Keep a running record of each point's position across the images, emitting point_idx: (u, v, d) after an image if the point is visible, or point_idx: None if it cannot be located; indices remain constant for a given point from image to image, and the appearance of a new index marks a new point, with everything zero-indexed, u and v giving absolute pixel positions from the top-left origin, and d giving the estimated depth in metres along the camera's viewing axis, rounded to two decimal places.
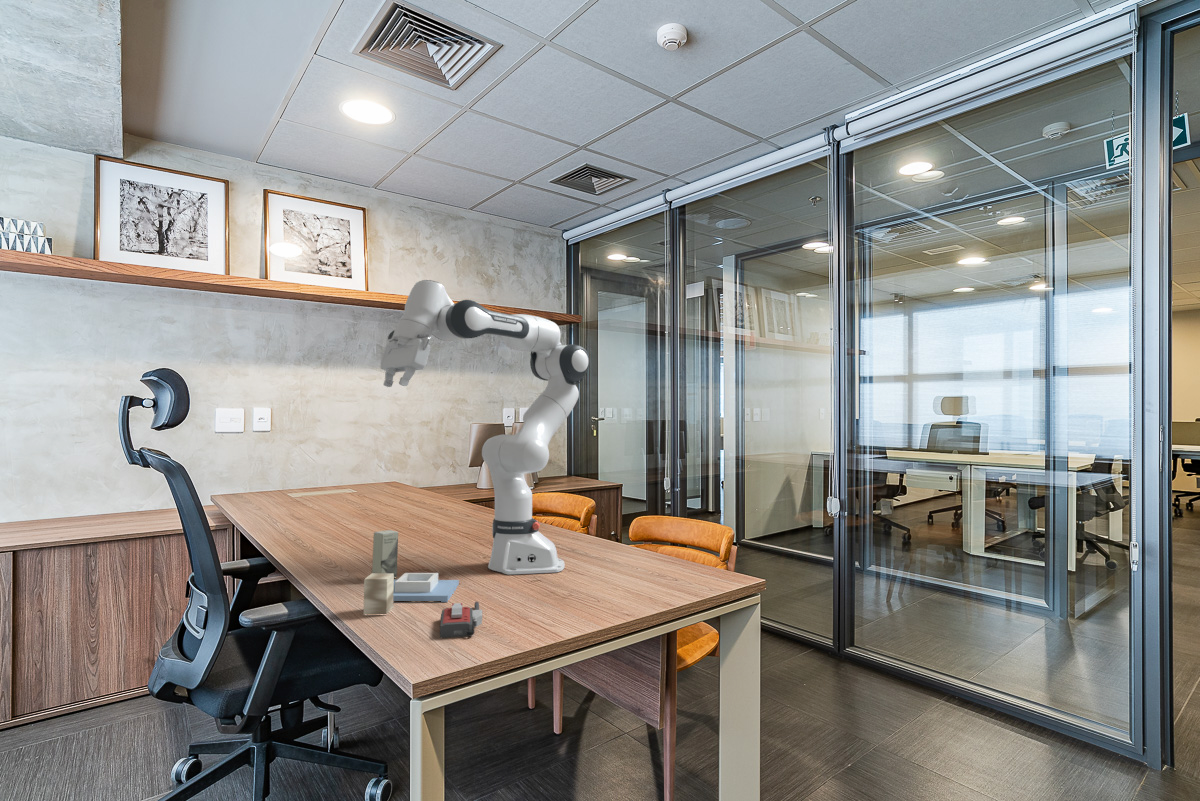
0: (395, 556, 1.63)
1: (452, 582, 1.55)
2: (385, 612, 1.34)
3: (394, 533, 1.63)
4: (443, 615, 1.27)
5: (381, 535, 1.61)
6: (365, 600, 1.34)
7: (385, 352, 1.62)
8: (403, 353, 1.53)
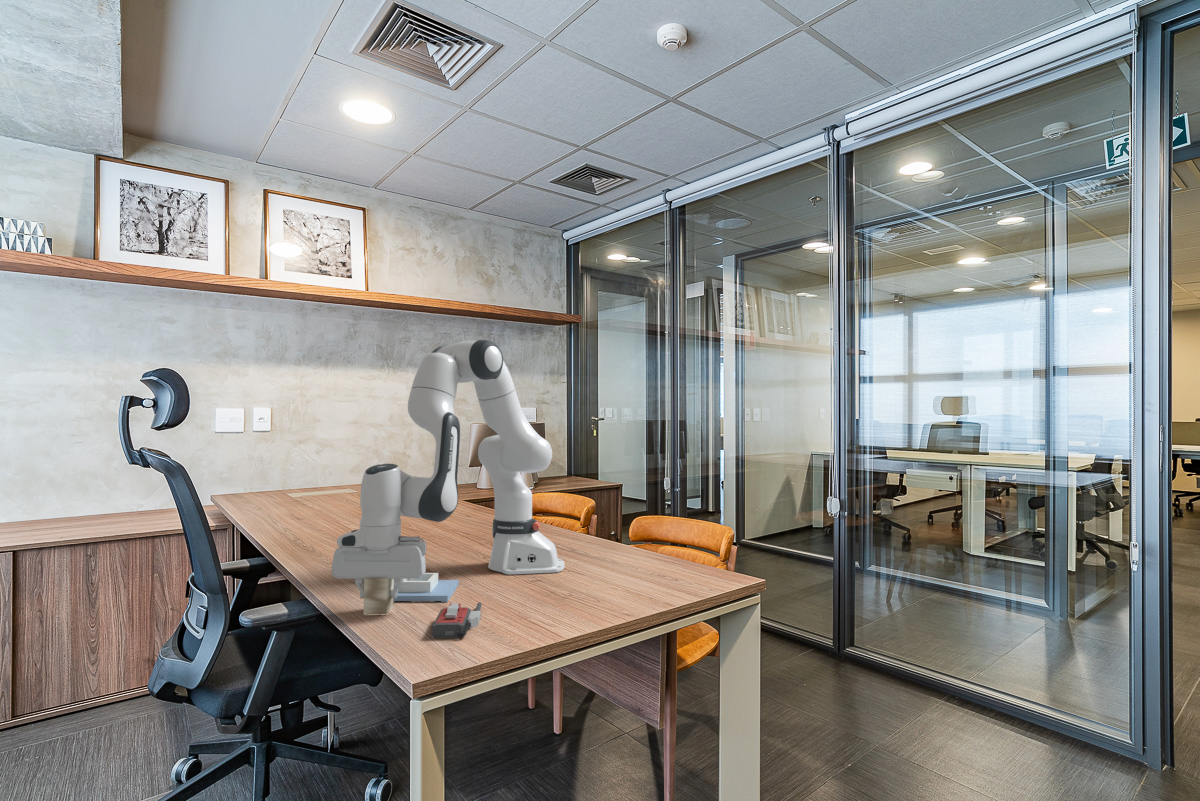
0: None
1: (452, 582, 1.55)
2: (385, 612, 1.34)
3: None
4: (439, 615, 1.27)
5: None
6: (365, 600, 1.34)
7: (338, 559, 1.34)
8: (389, 563, 1.35)
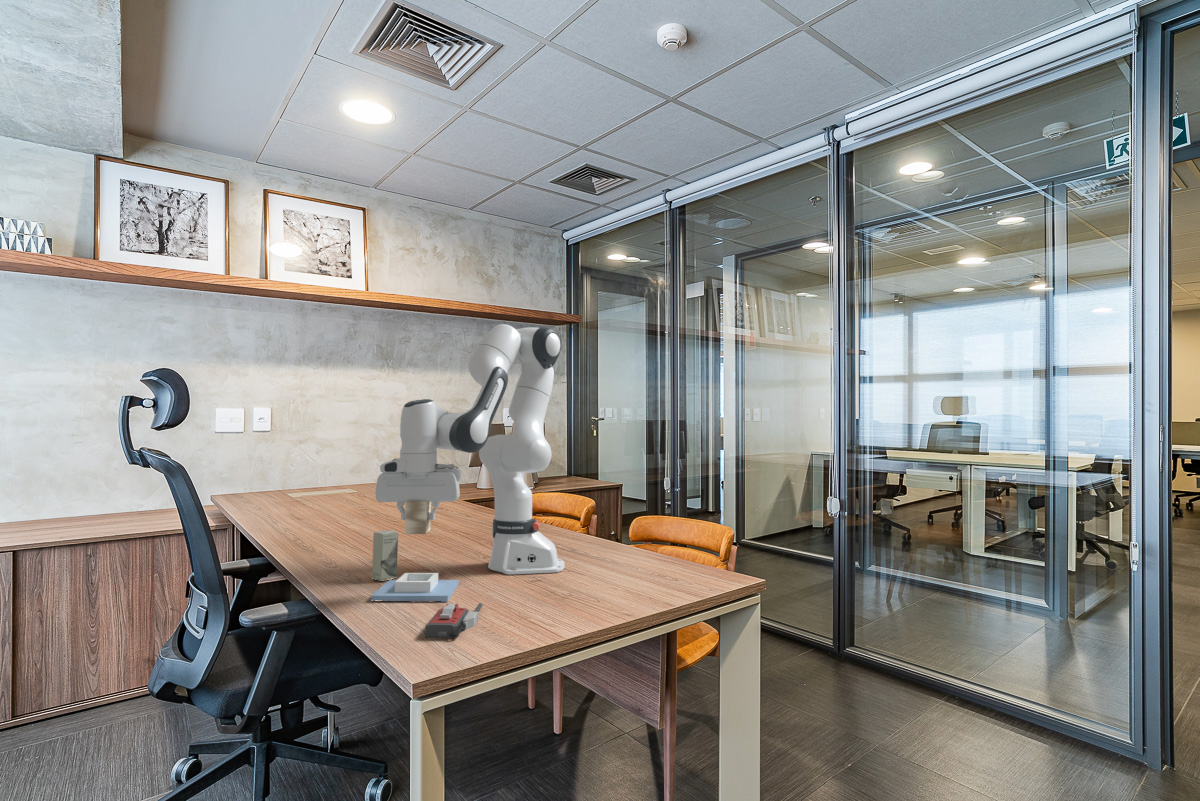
0: (395, 556, 1.63)
1: (452, 582, 1.55)
2: (424, 531, 1.48)
3: (394, 533, 1.63)
4: (435, 615, 1.27)
5: (381, 535, 1.61)
6: (406, 520, 1.48)
7: (381, 484, 1.48)
8: (427, 488, 1.49)
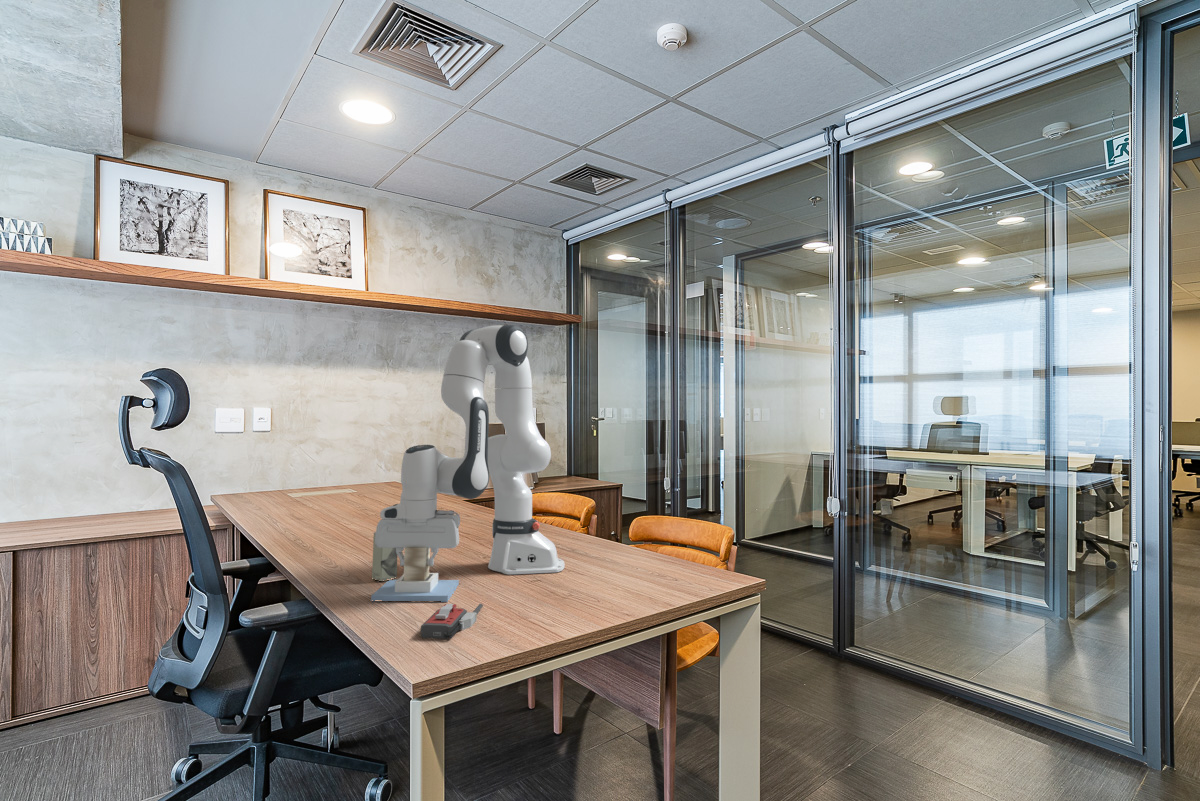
0: (395, 556, 1.63)
1: (452, 582, 1.55)
2: (423, 578, 1.48)
3: None
4: (433, 615, 1.27)
5: None
6: (405, 567, 1.48)
7: (381, 530, 1.48)
8: (426, 534, 1.49)
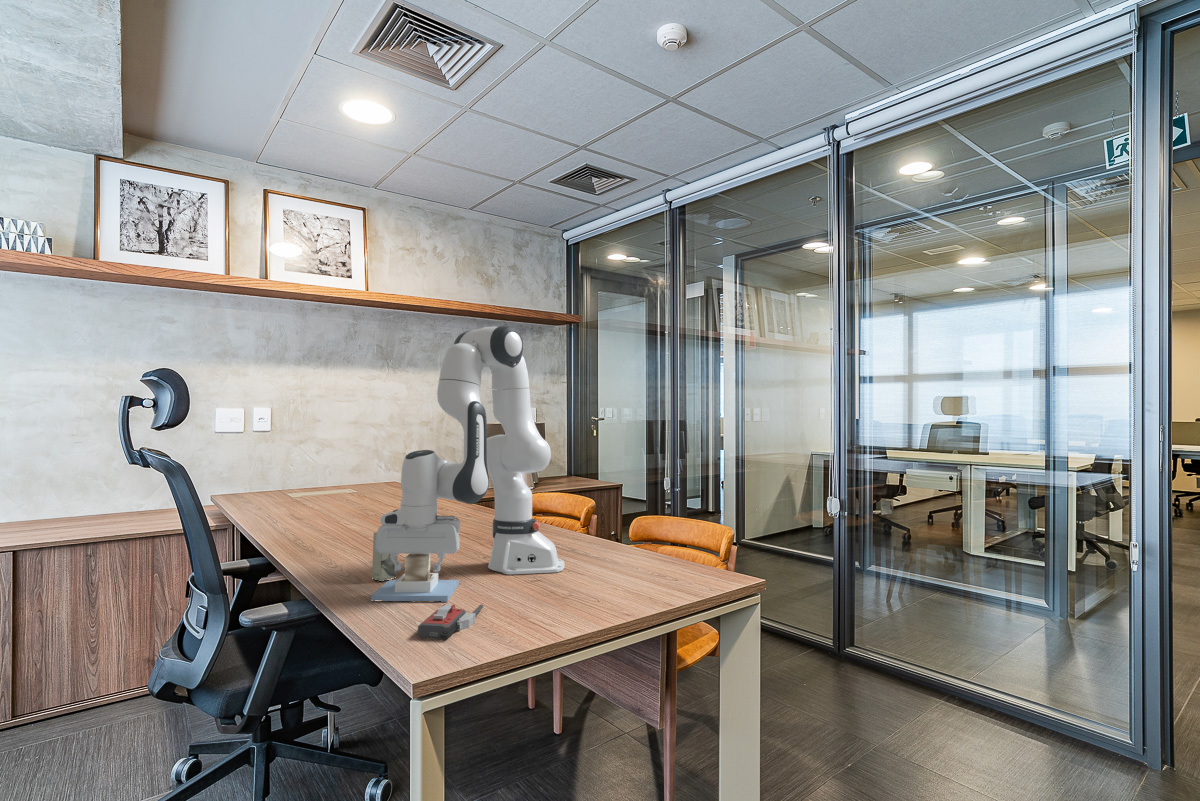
0: None
1: (452, 582, 1.55)
2: None
3: None
4: (431, 615, 1.27)
5: None
6: (406, 576, 1.48)
7: (381, 536, 1.48)
8: (427, 539, 1.49)
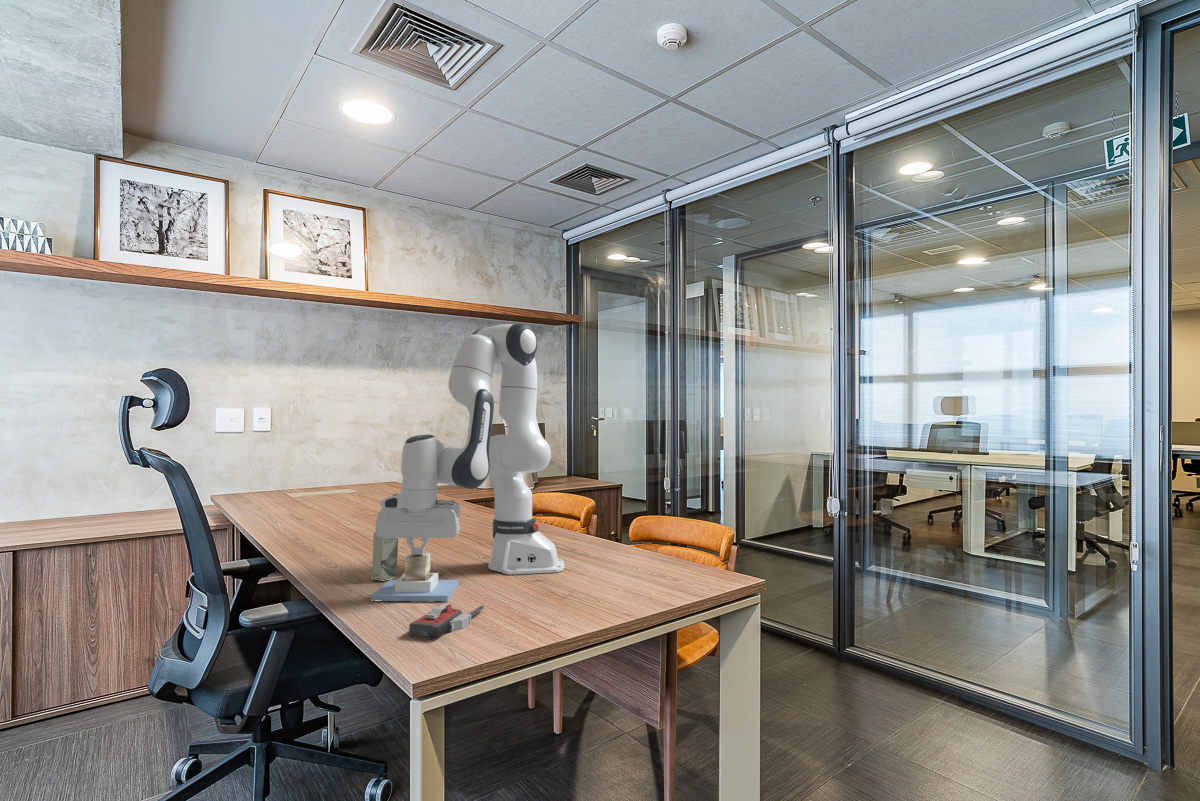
0: (395, 556, 1.63)
1: (452, 582, 1.55)
2: None
3: None
4: None
5: None
6: (406, 576, 1.48)
7: (381, 519, 1.48)
8: (427, 524, 1.49)
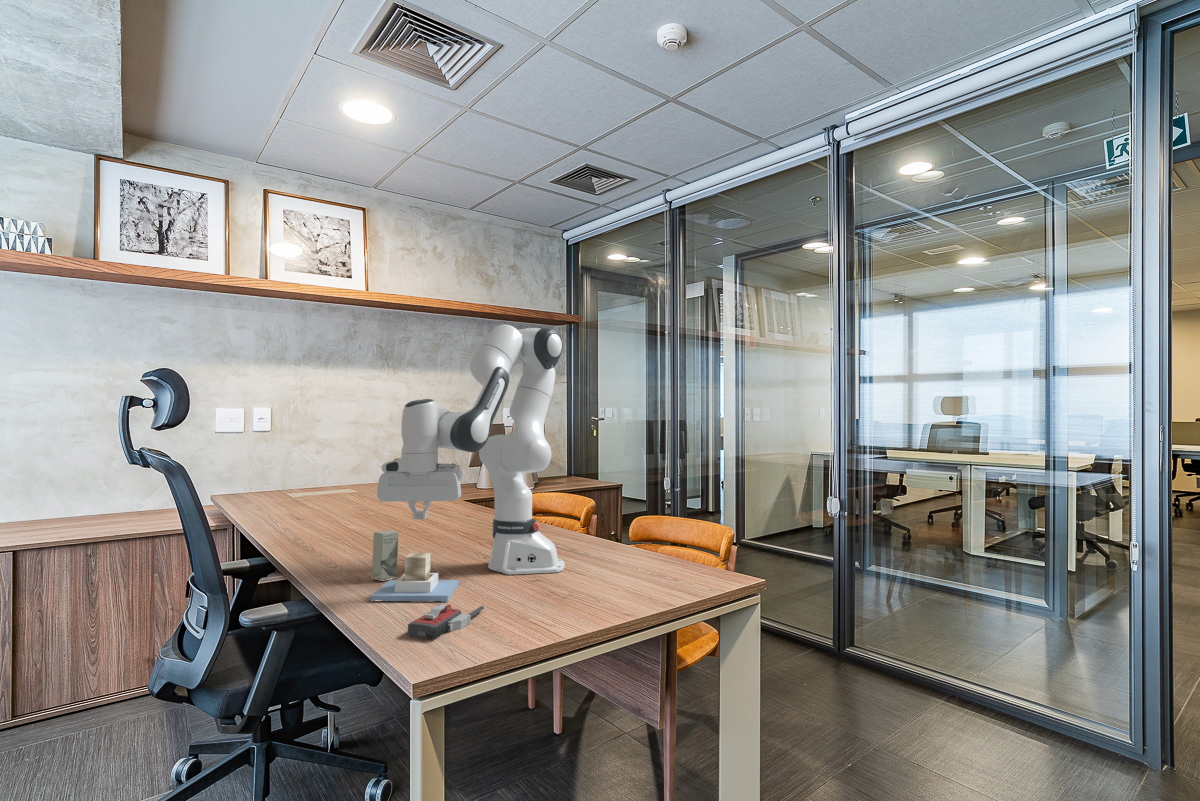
0: (395, 556, 1.63)
1: (452, 582, 1.55)
2: None
3: (394, 533, 1.63)
4: (426, 614, 1.28)
5: (381, 535, 1.61)
6: (406, 576, 1.48)
7: (383, 484, 1.49)
8: (428, 487, 1.50)
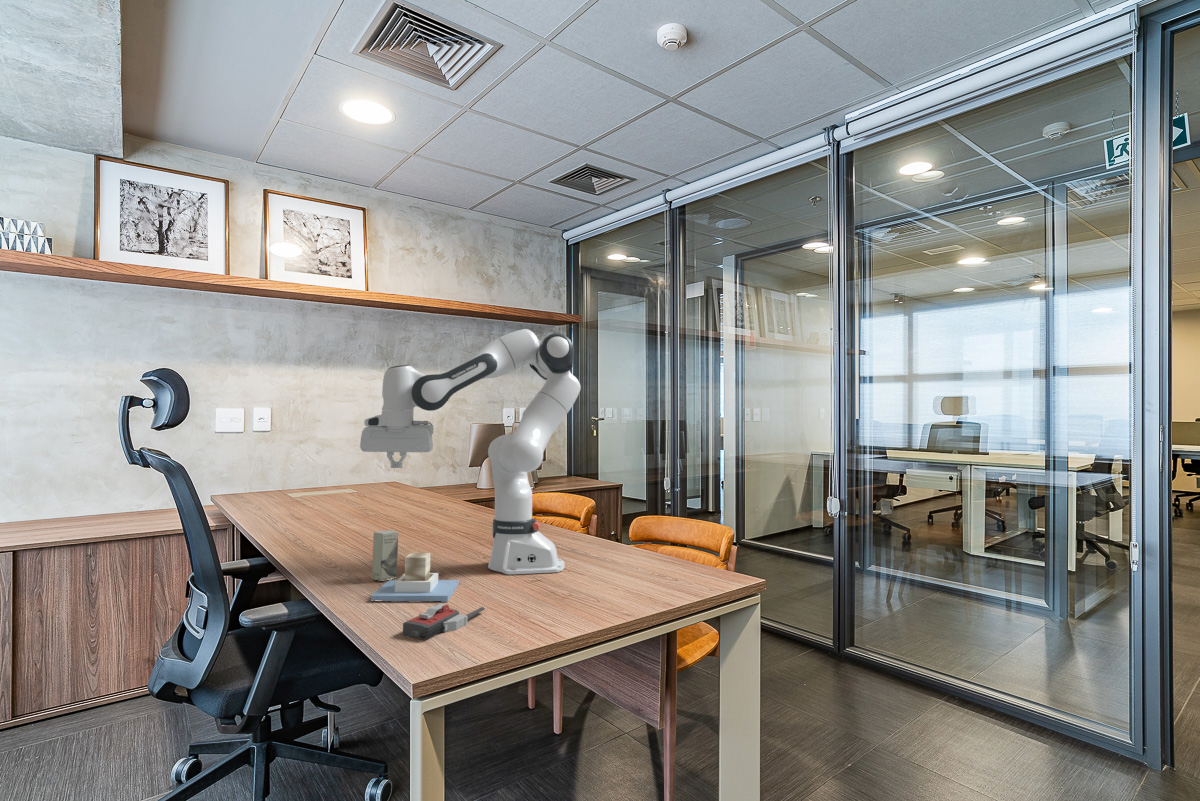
0: (395, 556, 1.63)
1: (452, 582, 1.55)
2: None
3: (394, 533, 1.63)
4: (423, 613, 1.28)
5: (381, 535, 1.61)
6: (406, 576, 1.48)
7: (365, 436, 1.73)
8: (404, 440, 1.74)
